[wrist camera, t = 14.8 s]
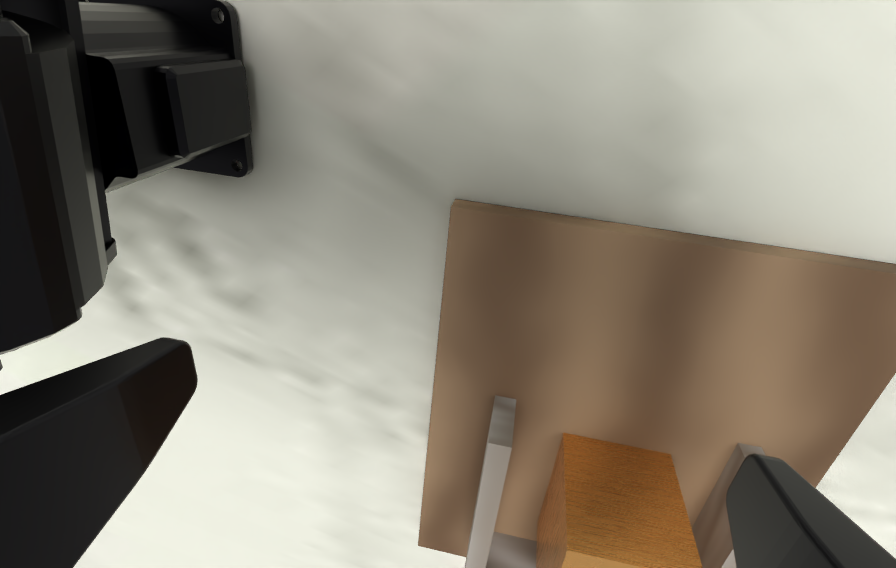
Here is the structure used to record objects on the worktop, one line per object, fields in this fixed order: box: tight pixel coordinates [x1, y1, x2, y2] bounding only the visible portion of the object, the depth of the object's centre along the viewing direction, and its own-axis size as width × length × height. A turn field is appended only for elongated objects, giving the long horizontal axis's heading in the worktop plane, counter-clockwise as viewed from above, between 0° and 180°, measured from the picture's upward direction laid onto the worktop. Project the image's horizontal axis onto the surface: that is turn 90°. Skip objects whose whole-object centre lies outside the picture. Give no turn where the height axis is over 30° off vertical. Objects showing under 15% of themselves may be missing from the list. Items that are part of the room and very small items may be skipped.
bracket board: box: [418, 199, 896, 568], centre depth 22 cm, size 18×22×4 cm
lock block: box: [536, 433, 703, 568], centre depth 22 cm, size 5×7×6 cm
